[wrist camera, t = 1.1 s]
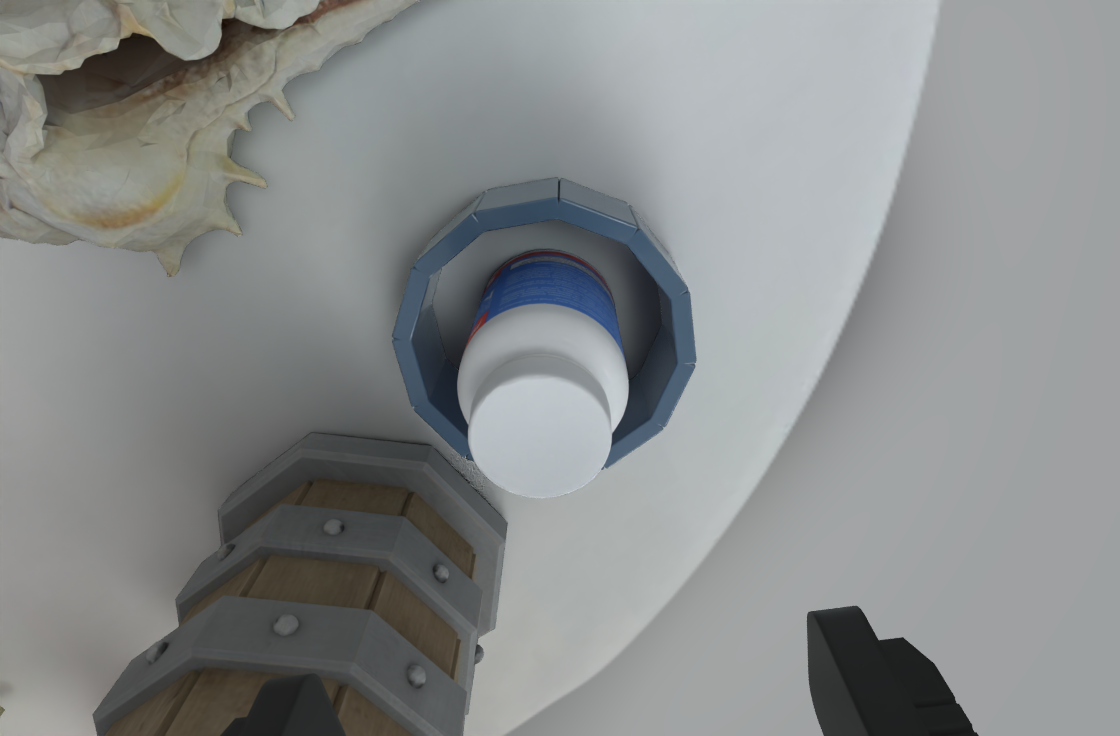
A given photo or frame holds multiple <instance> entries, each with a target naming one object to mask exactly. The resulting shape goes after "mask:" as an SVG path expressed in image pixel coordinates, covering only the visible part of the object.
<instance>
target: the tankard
mask: <svg viewBox="0 0 1120 736" xmlns="http://www.w3.org/2000/svg"><path fill="white" fill-rule="evenodd" d="M218 518H219V528H220V537H221V547H220V549H219V550H218V551H217V552H215V553H214V554H213V555H211V556H210V557H208V558H207V559H206V560H204V561H203V562H202V563H201V564H200V566H199V567H198V569H197V570H196V571H195V573H194V574H193V576H192V577H191V578H190V580H189V581H188V582H187V584H186V585H185V587H184V588H183V589H182V591H181V592H180V594H179V595H178V596H177V598H176V599H175V600H176V607H177V614H178V621H179V627H178V628H177V629H175V630H174V631H173V632H171V633H170V634H168V635H167V636H166V637H164V638H163V639H161V640H160V641H158V642H156V643H155V644H154V645H152V646H151V647H150V648H149V649H147V650H146V651H144V652H143V653H141V654H140V655H139V656H137V657H136V658H134V659H133V660H131V662H130V663H129V665H128V666H127V667H126V669H125V670H124V672H123V673H122V674H121V676H120V677H119V679H118V680H117V681H116V683H115V684H114V686H113V687H112V688H111V690H110V691H109V693H108V694H107V695H106V697H105V698H104V699H103V701H102V702H101V704H100V705H99V706H98V708H97V709H96V711H95V712H94V713H93V718H94V723H95V727H96V731H97V736H220V735H221V734H222V733H223V732H224V730H225V729H226V728H227V727H228V726H229V725H230V724H231V722H232V721H233V720H234V719H235V718H241V717H247V715H248V713H249V711H250V709H251V707H252V705H253V703H254V701H255V699H256V697H257V694H258V692H259V690H260V689H261V687H262V685H263V684H264V683H265V682H266V681H267V680H269V679H273V678H281V677H289V676H296V675H304V674H312V673H314V674H317V675H318V676H319V677H320V679H321V681H322V683H323V685H324V687H325V689H326V692H327V694H328V696H329V698H330V700H331V703H332V705H333V707H334V709H335V711H336V714H337V716H338V718H339V720H340V722H341V725H342V727H343V729H344V731H345V734H346V736H463V731H464V721H465V715H467V714H468V712H469V705H470V698H471V691H472V684H473V677H474V670H475V664H477V663H479V662H480V661H481V660H482V658H483V656H484V652H483V648H482V647H481V646H480V645H478V644H477V641H478V638H479V637H481V636H483V635H484V634H486V633H488V632H490V631H491V630H493V629H495V625H496V617H497V609H498V600H499V592H500V583H501V575H502V566H503V558H504V549H505V541H506V532H507V524H508V523H507V522H506V521H505V520H504V519H503V518H502V517H501V516H500V515H499V514H498V513H497V512H496V511H495V510H494V509H493V508H492V507H491V506H490V505H489V504H488V503H487V502H486V501H485V500H484V499H483V498H482V497H481V496H480V495H479V494H478V493H477V492H476V491H475V490H474V489H473V488H472V487H471V485H470V484H469V483H468V482H467V481H466V480H465V479H464V478H463V477H462V476H461V475H460V474H459V473H458V472H457V471H456V470H455V469H454V468H453V467H452V466H451V465H450V464H449V463H448V462H447V461H446V460H445V459H444V458H443V457H442V456H441V455H440V454H439V453H438V452H437V451H436V450H435V449H434V448H433V447H432V446H426V445H417V444H408V443H399V442H390V441H382V440H373V439H364V438H355V437H346V436H337V435H328V434H319V433H310V434H309V435H307V436H306V437H305V438H303V439H302V440H301V441H300V442H298V443H297V444H296V445H294V446H293V447H292V448H290V449H289V450H288V451H286V452H285V453H284V454H282V455H281V456H280V457H278V458H277V459H276V460H275V461H273V462H272V463H271V464H269V465H268V466H267V467H265V468H264V469H263V470H261V471H260V472H259V473H257V474H256V475H255V476H253V477H252V478H251V479H250V480H248V481H247V482H246V483H244V484H243V485H242V486H240V487H239V488H238V489H236V490H235V491H234V492H232V493H231V494H230V496H229V497H228V498H227V500H226V501H225V502H224V503H223V505H222V506H221V507H220V509H219V510H218Z"/></svg>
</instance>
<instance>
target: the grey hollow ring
mask: <svg viewBox="0 0 1120 736" xmlns="http://www.w3.org/2000/svg"><path fill="white" fill-rule="evenodd" d="M554 219H558V220H561V221H564V222H567V223H569V224H572V225H575V226H578V227H580V228H583V229H586V230H588V231H591V232H594V233H597V234H599V235H602V236H605V237H607V238H610V239H613V240H616V241H618V242H621V243H624V244H626V245H627V246H628V247H629V249H630V250H631V251H632V252H633V254H634V255H635V256H636V257H637V259H638V260H639V261H640V262H641V264H642V265H643V266H644V267H645V269H646V270H647V271H648V272H649V274H650V275H651V276H652V277H653V279H654V280H655V281H656V282H657V284H658V293H659V301H660V310H661V318H662V325H661V327H660V329H659V331H658V334H657V336H656V338H655V340H654V342H653V344H652V347H651V349H650V351H649V353H648V355H647V357H646V360H645V362H644V364H643V366H642V368H641V371H640V373H639V374H638V375H636V376H635V377H634V378H632V379H631V380H630V381H628V383H629V392H628V400H627V405H626V408H625V411H624V415H623V417H622V419H621V421H620V422H619V424H618V426H617V427H616V429H615V430H614V432H613V433H612V443H611V448H610V452H609V455H608V458H607V460H606V462H605V464H604V466H603V467H602V469H601V470H603V469H604V467H605V468H609V467H610V466H612V465H613V464H615V463H616V462H618V461H619V460H620V459H622V458H623V457H625V456H626V455H628V454H629V453H631V452H632V451H634V450H635V449H636V448H638V447H639V446H641V445H642V444H644V443H645V442H647V441H648V440H650V439H651V438H652V437H654V436H655V435H657V434H658V433H660V432H661V431H663V427H666V425H667V423H668V421H669V419H670V417H671V415H672V413H673V411H674V409H675V407H676V405H677V403H678V401H679V399H680V397H681V395H682V393H683V391H684V389H685V387H686V385H687V383H688V381H689V379H690V377H691V375H692V373H693V371H694V369H695V363H696V361H697V360H696V350H695V340H694V329H693V319H692V309H691V299H690V292H689V291H688V287H687V285H686V283H685V281H684V280H683V278H682V276H681V274H680V272H679V270H678V268H677V267H676V265H675V263H674V261H673V259H672V257H671V256H670V255H669V253H668V252H667V251H666V250H665V248H664V247H663V246H662V244H661V243H660V242H659V241H658V239H657V238H656V237H655V236H654V234H653V233H652V232H651V230H650V229H649V228H648V227H647V225H646V224H645V223H644V221H643V220H642V219H641V218H640V216H639V215H638V214H637V213H636V211H635V210H634V209H633V207H632V206H631V205H628V204H627V203H626V202H625V201H622V200H619V199H617V198H614V197H611V196H609V195H606V194H603V193H601V192H598V191H595V190H593V189H590V188H588V187H585V186H582V185H580V184H577V183H574V182H572V181H569V180H566V179H564V178H561V179H560V180H559V179H558V177H555V178H550V179H544V180H538V181H533V182H527V183H522V184H516V185H510V186H505V187H499V188H493V189H488V190H487V192H483V193H482V194H481V195H479V196H478V197H477V198H476V199H475V200H474V201H473V202H471V203H470V204H469V205H468V206H467V207H466V208H465V209H464V210H462V211H461V212H460V213H459V214H458V215H457V216H456V217H455V218H453V219H452V220H451V221H450V222H449V223H448V224H447V225H445V226H444V227H443V228H442V229H441V230H440V231H439V232H438V233H436V234H435V235H434V236H433V238H432V239H431V241H430V242H429V243H428V245H427V246H426V247H425V249H424V250H423V252H422V253H421V254H420V256H419V257H418V259H417V260H416V261H415V263H414V265H413V266H412V268H411V270H410V273H409V277H408V280H407V284H406V287H405V291H404V294H403V298H402V302H401V305H400V309H399V312H398V316H397V319H396V323H395V326H394V330H393V333H392V337H393V339H392V343H393V346H394V350H395V353H396V356H397V360H398V363H399V366H400V370H401V373H402V376H403V380H404V383H405V386H406V390H407V393H408V396H409V400H410V403H411V406H412V407H414V411H415V412H416V413H417V414H418V415H419V416H420V417H421V418H423V419H424V420H425V421H426V422H427V423H428V424H429V425H430V426H431V427H432V428H433V429H434V430H435V431H436V432H437V433H438V434H439V435H440V436H441V437H442V438H443V439H444V440H446V441H447V442H448V443H449V444H450V445H451V446H452V447H453V448H454V449H455V450H456V451H457V452H458V453H459V454H460V455H461V456H462V457H465V456H466V459H468V460H471V461H474V459H473V457H472V454H471V451H470V448H469V444H468V426H469V425H468V424H467V422H466V420H465V418H464V416H463V413H462V410H461V408H460V404H459V399H458V391H457V380H458V373H459V370H458V369H457V368H456V367H455V366H454V365H453V364H452V363H451V362H450V361H449V360H448V359H447V358H446V356H445V352H444V349H443V345H442V341H441V337H440V334H439V330H438V326H437V322H436V319H435V315H434V311H433V307H432V304H431V303H432V300H433V297H434V294H435V290H436V287H437V284H438V280H439V277H440V274H441V270H442V267H443V266H444V265H446V264H447V263H448V262H449V261H450V260H451V259H453V258H454V257H455V256H456V255H457V254H458V253H460V252H461V251H462V250H463V249H464V248H465V247H466V246H468V245H469V244H470V243H471V242H472V241H473V240H475V239H476V238H477V237H478V236H479V235H480V234H482V233H483V232H485V231H491V230H496V229H502V228H508V227H514V226H520V225H525V224H531V223H537V222H543V221H549V220H554Z"/></svg>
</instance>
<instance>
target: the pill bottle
mask: <svg viewBox="0 0 1120 736" xmlns="http://www.w3.org/2000/svg"><path fill="white" fill-rule="evenodd" d="M457 391H458V399H459V404H460V408H461V410H462V413H463V416H464V418H465V420H466V422H467V424H468V425H469V426H468V444H469V448H470V451H471V454H472V457H473V459H474V461H475V463H476V465H477V466H478V468H479V469H480V470H481V471H482V473H483V474H484V475H485V476H486V477H487V478H488V479H489V480H491V481H492V482H493V483H494V484H496V485H497V486H499V487H500V488H502V489H504V490H506V491H508V492H511V493H514V494H517V495H520V496H524V497H531V498H551V497H558V496H562V495H565V494H568V493H571V492H573V491H575V490H578V489H579V488H581V487H582V486H584V485H586V484H587V483H588V482H589V481H591V480H592V479H593V478H594V477H595V476H596V475H597V474H598V473H599V471H600V470H601V469H602V467H603V466H604V464H605V462H606V460H607V458H608V455H609V452H610V448H611V443H612V433H613V432H614V430H615V429H616V427H617V426H618V424H619V422H620V421H621V419H622V417H623V415H624V411H625V408H626V405H627V400H628V392H629V383H628V373H627V368H626V362H625V357H624V353H623V348H622V342H621V337H620V332H619V326H618V321H617V315H616V309H615V303H614V300H613V297H612V294H611V292H610V289H609V287H608V285H607V283H606V282H605V280H604V279H603V277H602V276H601V275H600V273H599V272H598V271H597V270H596V269H595V268H594V267H593V266H592V265H590V264H589V263H588V262H586V261H585V260H583V259H581V258H580V257H577V256H575V255H573V254H570V253H567V252H563V251H559V250H548V249H544V250H534V251H530V252H526V253H524V254H521V255H519V256H517V257H515V258H513V259H511V260H510V261H508V262H507V263H505V264H504V265H503V266H502V267H501V268H500V269H498V270H497V272H496V273H495V274H494V275H493V277H492V278H491V279H490V281H489V283H488V285H487V286H486V288H485V290H484V293H483V295H482V298H481V302H480V305H479V308H478V311H477V314H476V317H475V320H474V323H473V326H472V329H471V332H470V336H469V339H468V342H467V345H466V348H465V350H464V353H463V357H462V360H461V364H460V368H459V373H458V380H457Z"/></svg>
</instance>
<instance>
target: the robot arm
mask: <svg viewBox="0 0 1120 736" xmlns="http://www.w3.org/2000/svg"><path fill="white" fill-rule="evenodd" d="M807 636H808V637H807V638H808V673H809V685H810V692H811V696H812V701H813V705H814V708H815V712H816V715H817V719H818V721H819V724H820V727H821V729H822V732H823V735H824V736H978V734H977V733H975V732H974V731H973V728H972V724H971V723H970V721H969V719H968V718H967V716H966V714H965V713H964V711H963V710H962V708H961V707H960V705H959V704H957V703H956V701H955V697H954V695H953V693H952V692H951V690H950V689H949V687H948V685H947V684H946V682H945V680H944V679H943V677H942V675H941V674H940V672H939V671H938V669H937V667H936V666H935V664H934V663H933V662H931V661H930V660H929V659H928V658H927V657H926V656H924V655H923V654H922V653H921V652H920V651H918V650H917V649H916V648H915V647H914V646H913V645H911V644H910V643H909V642H908V641H907V640H905V639H904V638H903V637H902V638H894V639H886V640H878V638H877V637H876V635H875V633H874V631H873V629H872V627H871V626H870V624H869V622H868V620H867V618H866V616H865V615H864V613H863V612H862V610H861V609H860V608H859V607H858V606H850V607H842V608H834V609H826V610H818V611H811V612H808V615H807ZM220 736H346V734H345V731H344V729H343V727H342V725H341V722H340V720H339V718H338V716H337V714H336V711H335V709H334V707H333V705H332V703H331V700H330V698H329V696H328V694H327V692H326V689H325V687H324V685H323V683H322V681H321V679H320V677H319V676H318V675H317V674H314V673H312V674H304V675H296V676H289V677H281V678H273V679H269V680H267V681H266V682H265V683H264V684H263V685H262V687H261V689H260V690H259V692H258V694H257V697H256V699H255V701H254V703H253V705H252V707H251V709H250V711H249V713H248V715H247V717H241V718H235V719H234V720H233V721H232V722H231V724H230V725H229V726H228V727H227V728H226V729H225V730H224V732H223V733H222V734H221V735H220Z"/></svg>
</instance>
